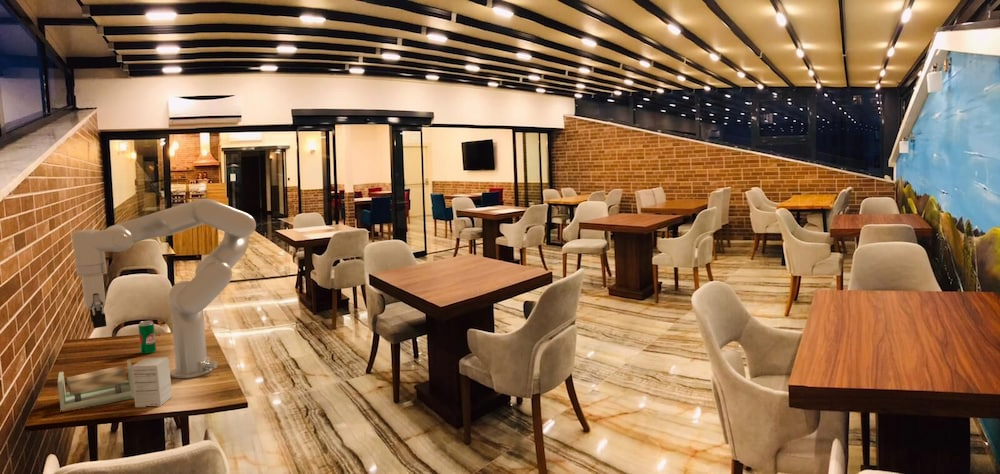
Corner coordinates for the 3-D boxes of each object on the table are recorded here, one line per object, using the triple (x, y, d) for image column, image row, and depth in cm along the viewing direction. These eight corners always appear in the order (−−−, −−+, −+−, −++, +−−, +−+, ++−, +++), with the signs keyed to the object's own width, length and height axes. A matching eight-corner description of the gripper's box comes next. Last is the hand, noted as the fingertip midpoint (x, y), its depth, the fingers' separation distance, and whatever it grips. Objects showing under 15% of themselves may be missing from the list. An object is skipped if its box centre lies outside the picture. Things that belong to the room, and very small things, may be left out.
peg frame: (132, 385, 181) (130, 358, 180) (135, 397, 171) (132, 369, 170) (62, 399, 170) (59, 371, 169) (60, 413, 161) (57, 382, 160)
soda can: (149, 354, 213) (146, 323, 211) (137, 354, 214) (134, 323, 212) (159, 350, 218) (156, 320, 216) (148, 350, 219) (145, 320, 217)
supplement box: (147, 398, 171) (143, 357, 169) (173, 396, 172) (169, 356, 170) (134, 408, 164) (130, 366, 162) (160, 406, 164) (156, 365, 163)
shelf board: (123, 377, 177) (121, 365, 177) (127, 381, 174) (125, 369, 173) (68, 390, 167) (66, 377, 167) (71, 394, 164) (69, 381, 163)
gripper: (75, 268, 177) (82, 321, 179) (78, 275, 163) (85, 332, 166) (104, 264, 181) (110, 316, 184) (109, 271, 168) (116, 327, 170)
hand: (98, 323), depth 175 cm, fingers open, 9 cm apart
